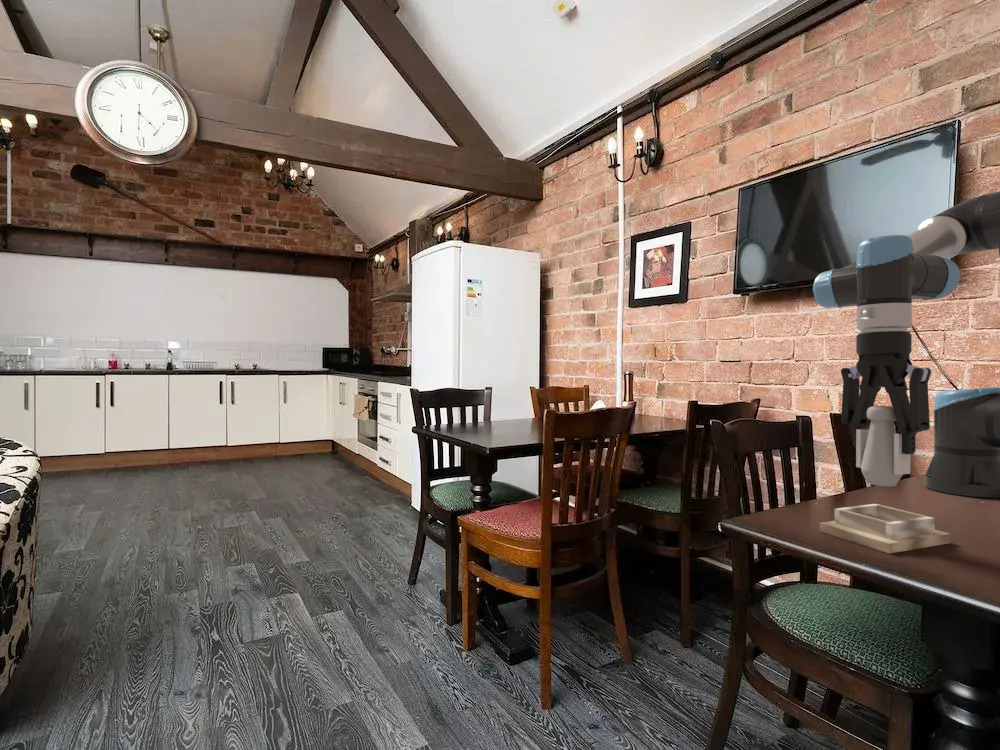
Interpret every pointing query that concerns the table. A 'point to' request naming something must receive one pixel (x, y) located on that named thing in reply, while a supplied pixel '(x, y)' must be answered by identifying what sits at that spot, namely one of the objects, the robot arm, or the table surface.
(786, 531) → the table surface
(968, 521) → the table surface
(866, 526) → the tray
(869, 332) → the robot arm
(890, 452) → the salt shaker
